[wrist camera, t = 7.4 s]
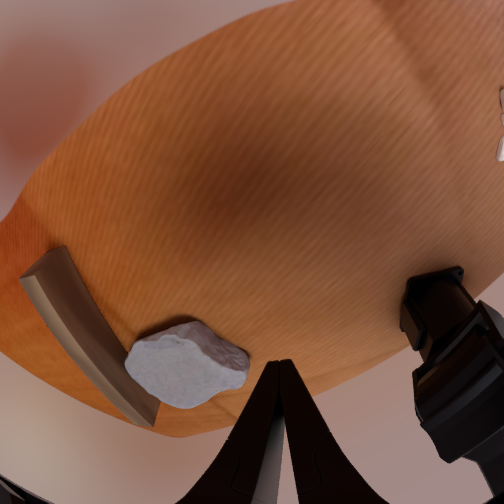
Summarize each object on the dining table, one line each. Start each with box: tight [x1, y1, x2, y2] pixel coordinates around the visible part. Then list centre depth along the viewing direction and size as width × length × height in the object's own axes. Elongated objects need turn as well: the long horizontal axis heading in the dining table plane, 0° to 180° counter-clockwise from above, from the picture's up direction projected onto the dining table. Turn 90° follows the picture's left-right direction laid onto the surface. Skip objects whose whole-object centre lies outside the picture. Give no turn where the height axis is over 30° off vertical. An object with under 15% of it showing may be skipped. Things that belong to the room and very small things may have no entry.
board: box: [19, 246, 161, 427], centre depth 25 cm, size 3×24×5 cm, turn 12°
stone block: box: [125, 321, 250, 409], centre depth 26 cm, size 12×5×10 cm
